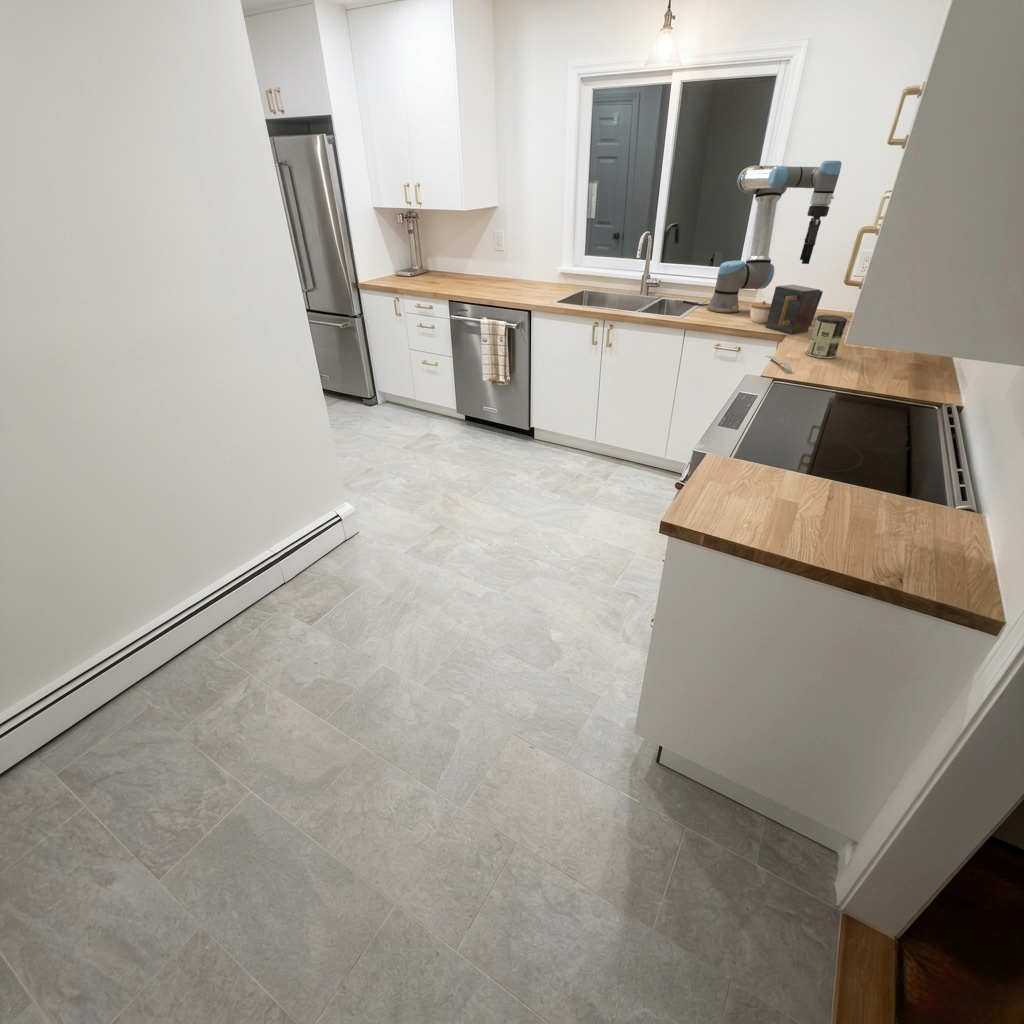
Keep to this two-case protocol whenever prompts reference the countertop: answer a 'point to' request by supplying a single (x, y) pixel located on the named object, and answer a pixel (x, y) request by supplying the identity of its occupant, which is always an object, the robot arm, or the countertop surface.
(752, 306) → the trinket box
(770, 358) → the fork
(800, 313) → the cupboard
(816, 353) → the coffee can
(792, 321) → the cupboard door
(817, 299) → the brown tall block
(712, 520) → the countertop surface
